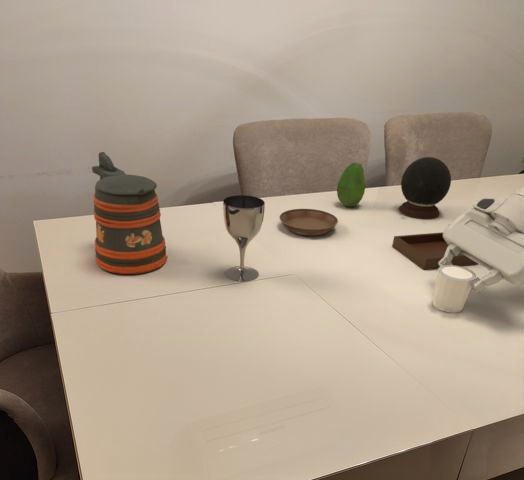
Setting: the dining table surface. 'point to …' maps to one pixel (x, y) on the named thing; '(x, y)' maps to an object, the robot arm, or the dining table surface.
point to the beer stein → (126, 221)
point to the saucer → (308, 221)
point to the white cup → (452, 287)
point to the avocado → (351, 185)
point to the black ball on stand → (424, 187)
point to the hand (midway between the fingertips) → (457, 277)
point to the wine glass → (243, 229)
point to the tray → (427, 250)
